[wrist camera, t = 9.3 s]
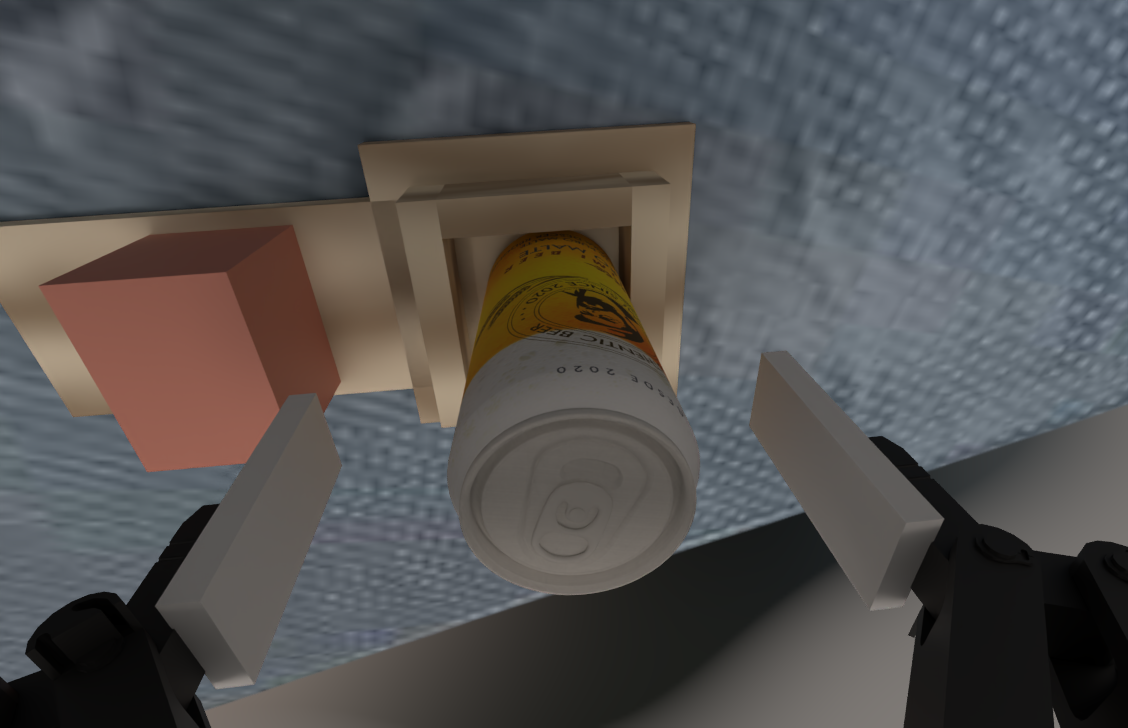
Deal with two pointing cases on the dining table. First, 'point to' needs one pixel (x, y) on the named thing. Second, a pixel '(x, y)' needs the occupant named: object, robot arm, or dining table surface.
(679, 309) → the dock
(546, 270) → the beer can
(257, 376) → the salmon pink block
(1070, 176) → the dining table surface
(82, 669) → the robot arm
